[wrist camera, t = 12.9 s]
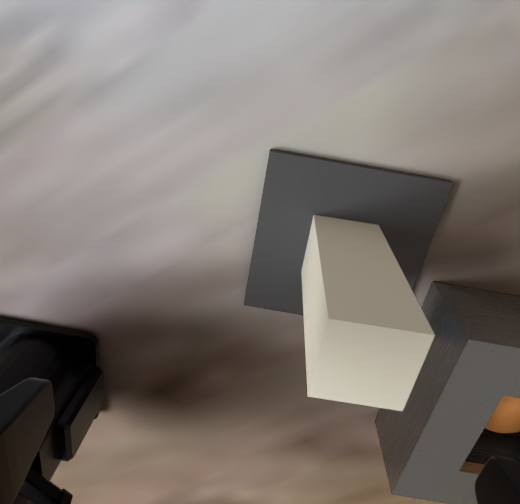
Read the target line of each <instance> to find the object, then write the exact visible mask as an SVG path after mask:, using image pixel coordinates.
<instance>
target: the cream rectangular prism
mask: <svg viewBox="0 0 520 504" xmlns="http://www.w3.org/2000/svg"><path fill="white" fill-rule="evenodd" d="M301 276H302V295H303V315H304V335H305V355H306V375H307V395H308V397H314V398H320V399H327V400H333V401H340V402H346V403H352V404H359V405H365V406H371V407H378V408H384V409H391V410H397V411H403V409H404V407H405V405H406V402H407V400H408V398H409V395H410V393H411V391H412V388H413V386H414V384H415V381H416V379H417V377H418V374H419V372H420V369H421V367H422V365H423V362H424V360H425V358H426V355H427V353H428V351H429V348H430V346H431V344H432V341H433V339H434V337H435V334H434V332H433V330H432V328H431V327H430V325H429V323H428V321H427V319H426V317H425V315H424V313H423V311H422V309H421V307H420V305H419V303H418V301H417V299H416V297H415V295H414V293H413V291H412V289H411V287H410V285H409V283H408V281H407V280H406V278H405V276H404V274H403V272H402V270H401V268H400V266H399V264H398V262H397V260H396V258H395V256H394V254H393V252H392V250H391V248H390V246H389V244H388V242H387V240H386V238H385V236H384V234H383V233H382V231H381V229H380V227H379V225H376V224H370V223H363V222H357V221H351V220H344V219H338V218H332V217H325V216H319V215H313V220H312V224H311V229H310V234H309V238H308V243H307V247H306V252H305V257H304V261H303V266H302V270H301Z"/></svg>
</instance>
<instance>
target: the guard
mask: <svg viewBox="0 0 520 504" xmlns="http://www.w3.org/2000/svg"><path fill="white" fill-rule="evenodd" d="M422 311H423V313H424V315H425V317H426V319H427V321H428V323H429V325H430V327H431V328H432V330H433V332H434V334H435V337H434V339H433V341H432V344H431V346H430V348H429V351H428V353H427V355H426V358H425V360H424V362H423V365H422V367H421V369H420V372H419V374H418V377H417V379H416V381H415V384H414V386H413V388H412V391H411V393H410V395H409V398H408V400H407V402H406V405H405V407H404V409H403V411H397V410H391V409H384V408H380V410H379V413H378V415H377V418H376V420H375V424H376V428H377V433H378V437H379V441H380V446H381V450H382V454H383V459H384V463H385V467H386V472H387V476H388V480H389V485H390V489H391V494H393V495H399V496H405V497H411V498H417V499H423V500H429V501H435V502H441V503H447V504H477V499H476V495H475V482H476V479H477V477H478V475H479V474H480V472H481V471H482V469H483V468H484V466H485V464H486V463H487V461H488V460H489V458H491V457H492V456H500V457H506V458H511V459H514V460H516V461H517V462H518V463H519V464H520V433H497V432H493V431H490V430H488V429H486V428H485V426H486V425H487V423H488V421H489V420H490V418H491V416H492V415H493V413H494V411H495V410H496V408H497V406H498V404H499V403H500V401H501V399H502V398H503V396H508V397H514V398H520V296H514V295H508V294H502V293H497V292H491V291H485V290H479V289H474V288H468V287H462V286H456V285H450V284H445V283H439V282H432V284H431V287H430V289H429V292H428V294H427V296H426V299H425V301H424V304H423V306H422Z"/></svg>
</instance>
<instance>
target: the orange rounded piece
mask: <svg viewBox="0 0 520 504" xmlns="http://www.w3.org/2000/svg"><path fill="white" fill-rule="evenodd" d="M485 428H486V429H488V430H490V431H493V432H497V433H515V432H519V431H520V398H514V397H508V396H503V398H502V399H501V401H500V403H499V404H498V406H497V408H496V410H495V411H494V413H493V415H492V416H491V418H490V420H489V421H488V423H487V425H486V426H485Z"/></svg>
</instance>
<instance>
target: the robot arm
mask: <svg viewBox="0 0 520 504" xmlns="http://www.w3.org/2000/svg"><path fill="white" fill-rule="evenodd" d="M86 341H88V342H90V343H91V344H90V343H87V342H86ZM103 401H104V394H103V371H102V369H101V368H100V367H99V341H98V338H97V337H96V336H95V335H93V334H91V333H86V332H81V331H75V330H69V329H63V328H57V327H51V326H45V325H39V324H34V323H28V322H22V321H16V320H10V319H4V318H0V504H71V500H72V496H73V495H72V494H71V493H69V492H68V491H67V490H65V489H60V488H59V487H57V486H56V485H55V484H53V483H52V482H51V481H50V480H51V478H52V476H53V474H54V472H55V471H56V469H57V467H58V465H59V463H60V462H61V460H62V461H69V460H71V459H72V458H73V457H74V456H75V454H76V452H77V450H78V448H79V446H80V444H81V442H82V441H83V439H84V437H85V435H86V433H87V431H88V429H89V427H90V426H91V424H92V422H93V420H94V419H96V418H97V417H98V415H99V413H100V410H101V405H102V403H103ZM475 495H476V499H477V504H520V464H519V463H518V462H517V461H516V460H514V459H511V458H506V457H500V456H492V457H491V458H489V460H488V461H487V463H486V464H485V466H484V468H483V469H482V471H481V472H480V474H479V475H478V477H477V479H476V482H475Z"/></svg>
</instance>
